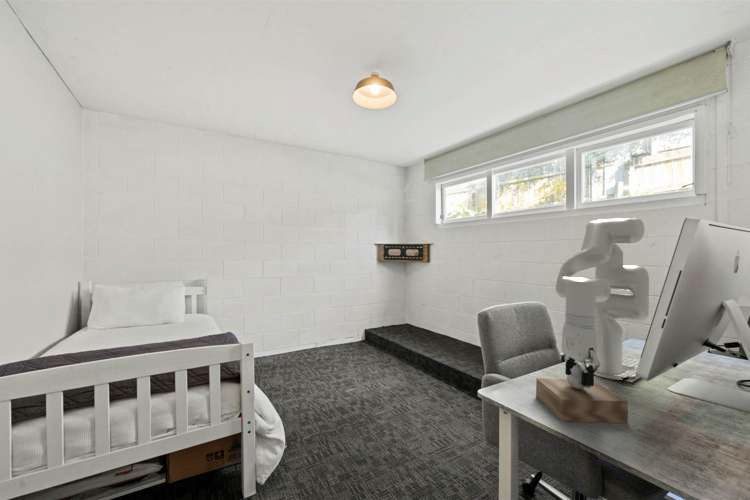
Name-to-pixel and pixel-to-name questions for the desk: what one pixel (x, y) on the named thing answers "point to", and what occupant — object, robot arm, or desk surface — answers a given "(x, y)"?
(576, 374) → the grey lumpy piece
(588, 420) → the walnut block
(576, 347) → the robot arm
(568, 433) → the desk surface
